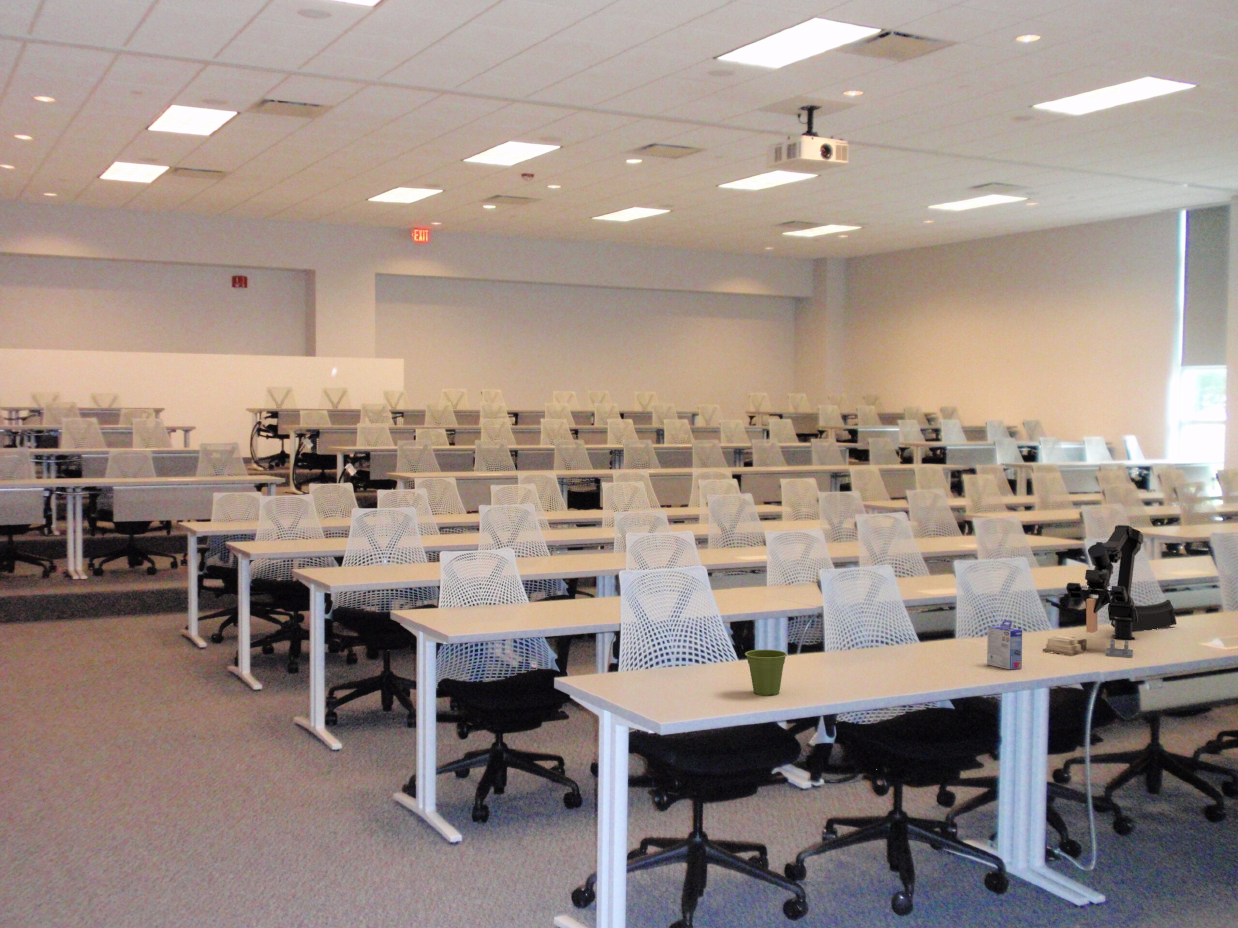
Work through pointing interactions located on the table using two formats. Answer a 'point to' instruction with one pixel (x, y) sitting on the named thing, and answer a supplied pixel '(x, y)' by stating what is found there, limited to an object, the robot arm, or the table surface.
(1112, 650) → the holder
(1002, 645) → the ink cartridge box
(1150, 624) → the magazine
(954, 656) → the table surface
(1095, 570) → the robot arm
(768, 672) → the plant pot
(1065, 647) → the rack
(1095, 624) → the tall peach slab
